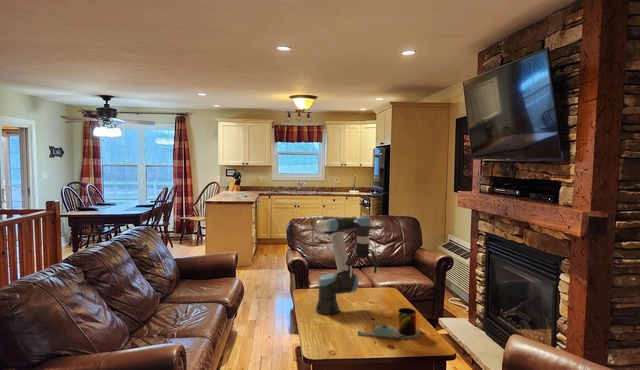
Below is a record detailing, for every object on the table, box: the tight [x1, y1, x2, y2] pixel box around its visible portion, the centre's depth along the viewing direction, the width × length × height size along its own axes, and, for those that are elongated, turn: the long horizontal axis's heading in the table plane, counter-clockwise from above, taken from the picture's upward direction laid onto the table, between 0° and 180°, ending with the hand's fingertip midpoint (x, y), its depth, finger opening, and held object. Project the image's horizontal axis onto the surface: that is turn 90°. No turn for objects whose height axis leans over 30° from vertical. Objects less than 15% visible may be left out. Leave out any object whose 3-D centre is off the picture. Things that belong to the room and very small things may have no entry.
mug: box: [397, 307, 417, 336], centre depth 214 cm, size 10×14×12 cm
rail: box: [357, 330, 406, 341], centre depth 209 cm, size 2×26×2 cm, turn 77°
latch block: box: [374, 324, 395, 337], centre depth 208 cm, size 4×10×5 cm, turn 77°
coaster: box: [394, 327, 421, 339], centre depth 213 cm, size 14×14×1 cm
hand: (362, 277), depth 227 cm, fingers open, 13 cm apart
